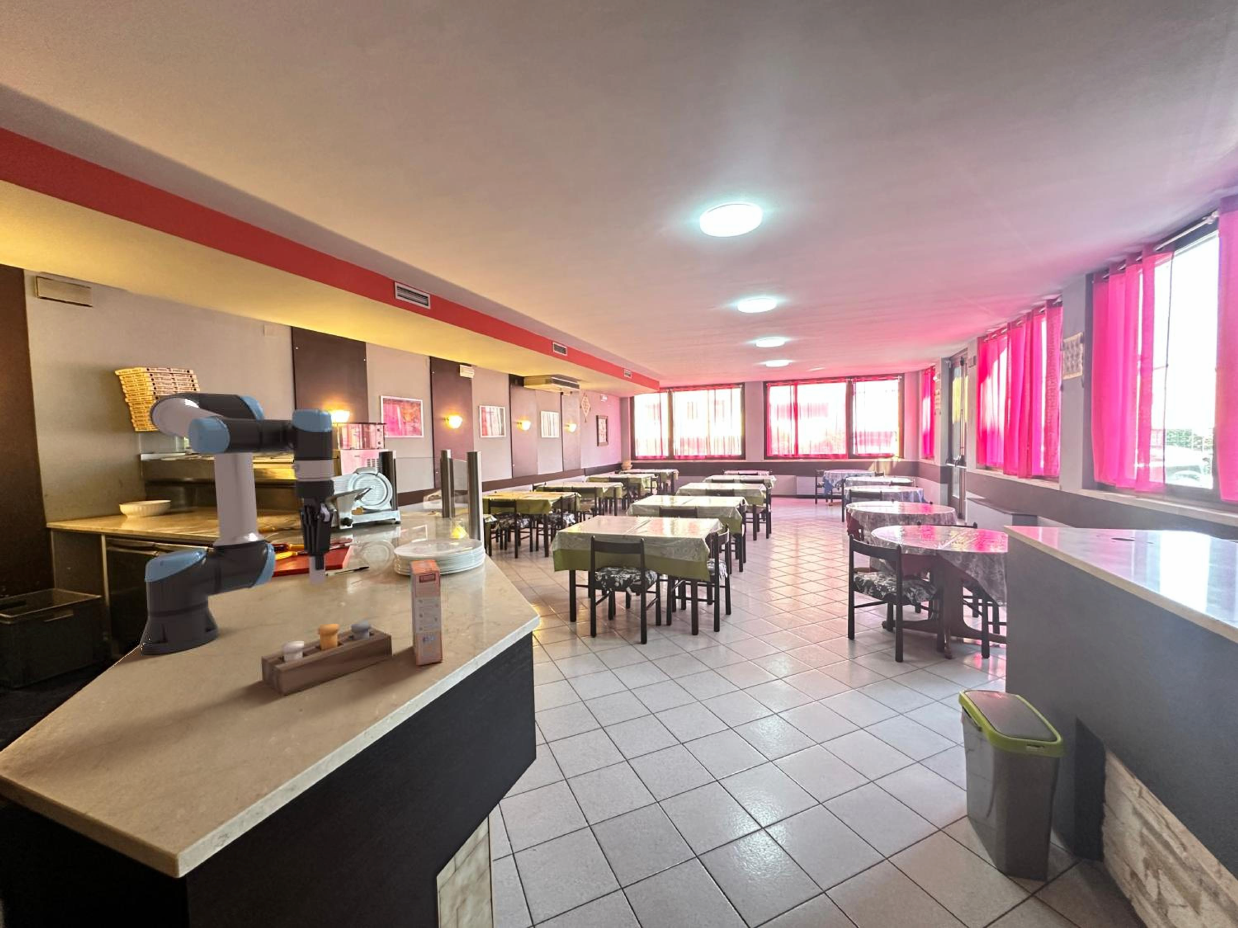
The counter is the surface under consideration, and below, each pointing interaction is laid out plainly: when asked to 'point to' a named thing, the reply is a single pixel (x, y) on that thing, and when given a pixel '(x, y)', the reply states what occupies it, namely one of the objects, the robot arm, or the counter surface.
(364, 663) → the socket board
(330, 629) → the orange plug
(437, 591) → the cracker box
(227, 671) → the counter surface
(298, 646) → the ivory plug
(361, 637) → the slate plug
